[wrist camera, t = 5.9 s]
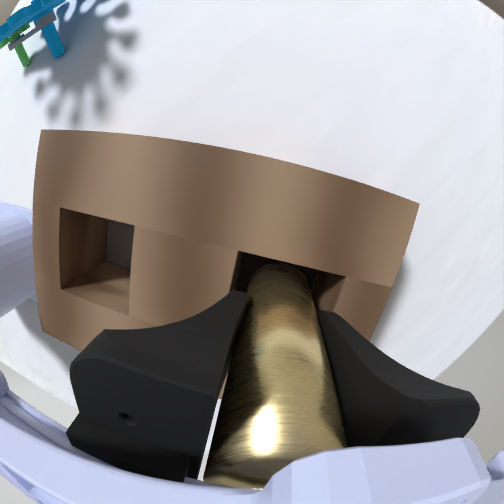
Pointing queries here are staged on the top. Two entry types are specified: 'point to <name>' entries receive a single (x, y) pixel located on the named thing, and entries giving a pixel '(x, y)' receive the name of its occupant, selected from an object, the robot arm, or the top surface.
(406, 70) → the top surface
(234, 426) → the peg
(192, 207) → the hole block
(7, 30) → the gear
